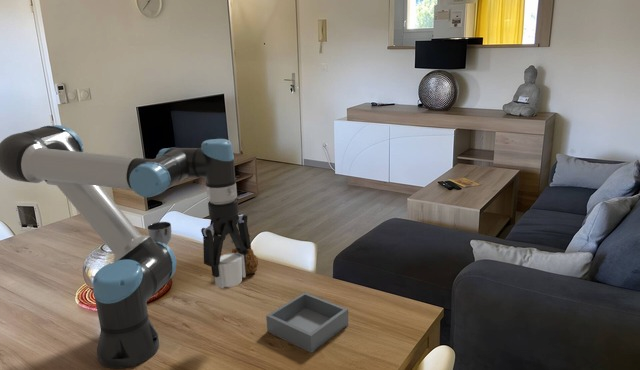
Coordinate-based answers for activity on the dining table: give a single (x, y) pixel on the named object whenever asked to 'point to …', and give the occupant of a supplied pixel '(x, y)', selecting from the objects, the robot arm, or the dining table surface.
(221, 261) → the white cup
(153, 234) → the wine glass
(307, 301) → the charcoal bin
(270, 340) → the dining table surface
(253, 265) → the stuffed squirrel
